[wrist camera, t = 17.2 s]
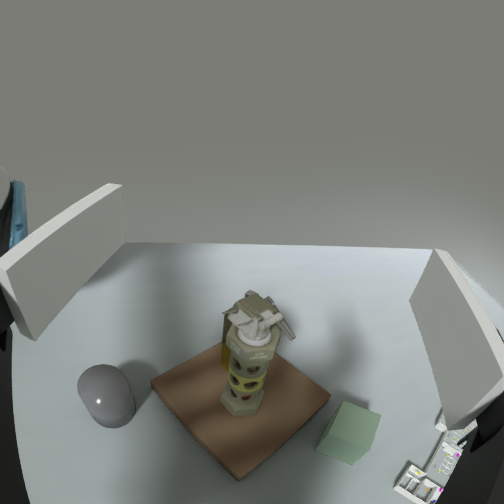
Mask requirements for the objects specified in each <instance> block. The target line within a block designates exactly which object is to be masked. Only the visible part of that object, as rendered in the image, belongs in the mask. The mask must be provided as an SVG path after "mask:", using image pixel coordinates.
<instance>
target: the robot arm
mask: <svg viewBox="0 0 504 504" xmlns="http://www.w3.org/2000/svg"><path fill="white" fill-rule="evenodd" d="M25 197H26V196H25V186H24V183H23V182H22V181H16V180H13V181H12V182H11V183H10V179H9V175H8V173H7V171H6V169H5V168H4V167H3V166H2V165H0V504H30V502H29V498H28V494H27V491H26V487H25V482H24V478H23V474H22V469H21V464H20V459H19V453H18V447H17V440H16V433H15V424H14V414H13V400H12V336H13V334H12V329H11V327H10V325H11V324H12V323H13V321H15V323H16V325H17V327H18V329H19V331H20V333H21V334H22V335H24V336H26V337H28V338H29V339H31V340H33V341H36V340H37V339H38V337H39V336H40V335H41V334H42V332H43V331H44V330H45V329H46V328H47V326H48V325H49V324H50V323H51V322H52V320H53V319H54V318H55V317H56V316H57V315H58V313H59V312H60V311H61V310H62V309H63V308H64V307H65V305H66V304H67V303H68V302H69V301H70V300H71V299H72V298H73V296H74V295H75V294H76V293H77V292H78V291H79V290H80V289H81V288H82V287H83V285H84V284H85V283H86V282H87V281H88V280H89V279H90V278H91V277H92V276H93V275H94V274H95V273H96V272H97V271H98V270H99V268H100V267H101V266H102V265H103V264H104V263H105V262H106V261H107V260H108V259H109V258H110V257H111V256H112V255H113V254H114V253H115V252H116V251H117V250H118V249H119V248H120V247H121V246H122V245H123V244H124V243H125V242H126V240H125V228H124V227H125V226H124V210H123V187H122V185H117V184H110V183H108V184H106V185H104V186H103V187H101V188H99V189H98V190H96V191H94V192H93V193H91V194H89V195H88V196H86V197H85V198H83V199H82V200H80V201H78V202H77V203H75V204H74V205H72V206H70V207H69V208H67V209H66V210H64V211H63V212H61V213H60V214H58V215H57V216H56V217H54V218H53V219H51V220H50V221H48V222H47V223H45V224H44V225H42V226H41V227H40V228H38V229H37V230H36V231H34V232H33V233H31V234H30V235H29V236H28V228H27V211H26V198H25ZM409 302H410V305H411V307H412V310H413V313H414V315H415V318H416V321H417V324H418V327H419V330H420V332H421V335H422V338H423V341H424V344H425V348H426V351H427V354H428V357H429V360H430V364H431V367H432V370H433V374H434V378H435V381H436V385H437V389H438V392H439V396H440V400H441V404H442V409H443V413H444V417H445V422H446V426H447V431H449V430H459V429H464V428H465V427H467V426H468V425H469V424H470V423H471V422H472V421H474V420H475V419H476V421H477V425H478V426H477V427H475V428H474V429H473V430H472V431H471V432H469V433H468V434H467V435H466V436H464V437H463V438H462V439H461V440H459V442H458V443H457V445H458V446H459V445H460V444H462V443H463V442H464V441H467V443H466V445H464V446H463V447H462V449H463V452H462V454H461V456H460V458H459V460H458V462H457V464H456V466H455V468H454V470H453V472H452V474H451V476H450V478H449V480H448V482H447V483H446V485H445V487H444V489H443V491H442V492H441V494H440V496H439V497H438V499H437V501H436V502H435V504H504V343H503V342H504V341H503V339H502V337H501V335H500V333H499V331H498V330H497V328H496V327H495V326H494V324H493V322H492V321H491V319H490V317H489V315H488V314H487V312H486V310H485V308H484V307H483V305H482V303H481V302H480V300H479V298H478V297H477V295H476V294H475V292H474V290H473V289H472V287H471V286H470V284H469V282H468V281H467V279H466V278H465V276H464V275H463V273H462V272H461V270H460V269H459V267H458V266H457V264H456V263H455V262H454V260H453V259H452V257H451V256H450V255H449V253H448V252H446V251H442V250H438V249H433V252H432V254H431V256H430V258H429V261H428V263H427V265H426V267H425V269H424V271H423V273H422V276H421V278H420V280H419V282H418V284H417V286H416V288H415V290H414V292H413V294H412V296H411V298H410V299H409Z"/></svg>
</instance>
